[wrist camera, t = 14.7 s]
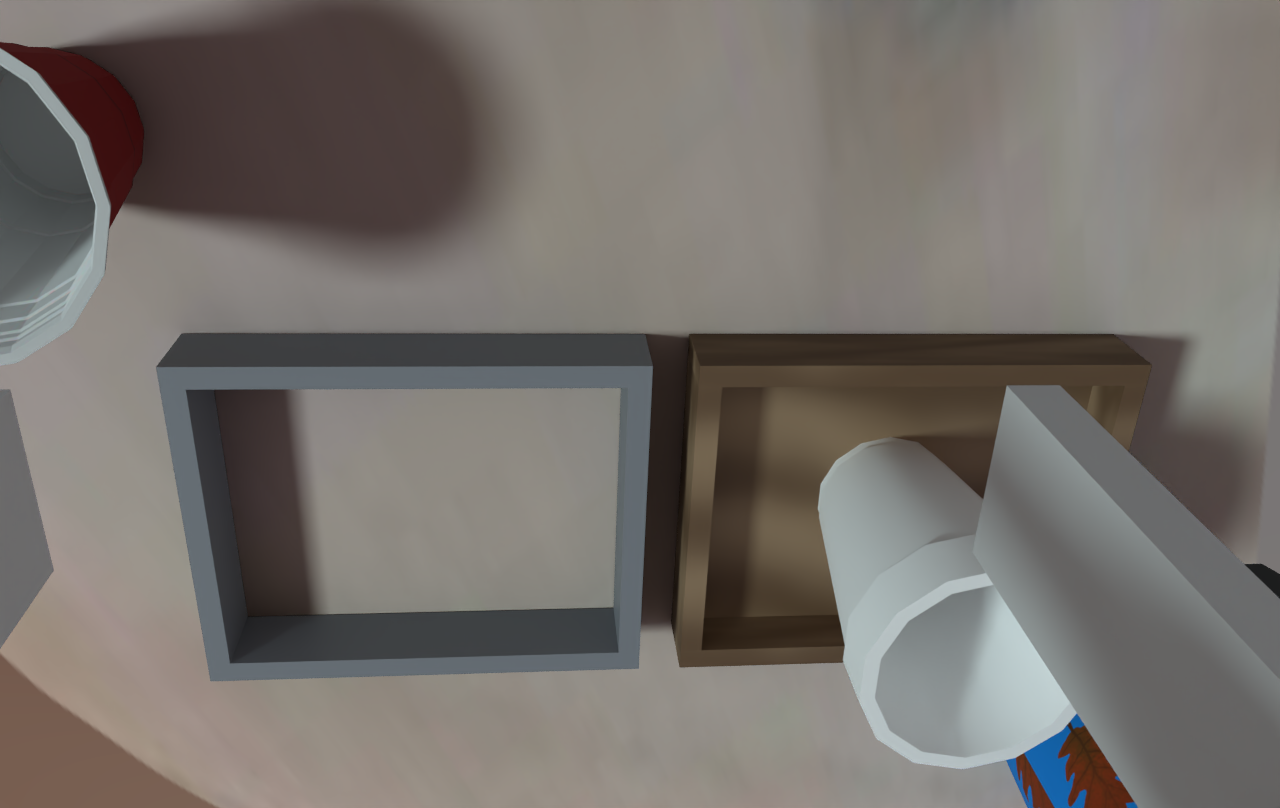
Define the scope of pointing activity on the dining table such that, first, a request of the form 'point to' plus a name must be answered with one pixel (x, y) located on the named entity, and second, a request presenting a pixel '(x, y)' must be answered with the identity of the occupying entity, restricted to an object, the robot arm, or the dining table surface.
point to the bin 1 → (399, 637)
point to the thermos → (1069, 773)
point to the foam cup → (929, 614)
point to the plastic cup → (57, 188)
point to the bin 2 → (819, 435)
